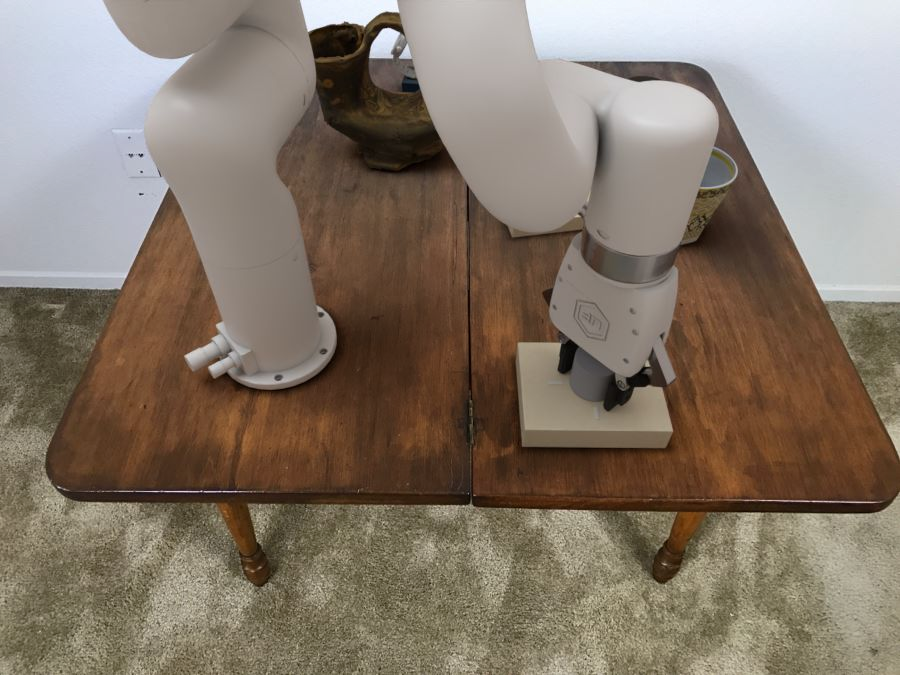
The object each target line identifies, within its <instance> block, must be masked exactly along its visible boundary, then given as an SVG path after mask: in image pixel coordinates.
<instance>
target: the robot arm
mask: <svg viewBox="0 0 900 675" xmlns="http://www.w3.org/2000/svg"><path fill="white" fill-rule="evenodd" d="M102 2H103V4H104V6H105V8H106V10H107V12H108V13H109V16H110V17H111V19H112V21H113V23H114V24H115V25H116V27H117V29H118V30H119V31H120V32H121V34H122V35H123V37H125V39H126V40H127V41H128V42H129V43H131V45H133V46H134V47H136V48H137V50H139V51H140V52H143V53H145V54H146V55H147V56H151V57H153V58H157V59H163V60H179V59H183V58H187V57H189V56H190V57H189V58H188V59H186V61H185V62H184V63H183V64H181V66H180V67H179V68H178V69H177V70H176V71H174V73H172V74H171V75H170V76H169V77H168V78H167V79H166V81H165V82H164V83H163V84H162V85H161V86H160V88H158V90H157V92H156V93H155V95H154V96H153V98H152V100H151V102H150V104H149V106H148V107H147V111H146V113H145V114H146V115H145V119H144V125H143V134H144V141H145V145H146V148H147V152H148V154H149V156H150V159H151V160H152V162H153V163H154V165H155V167H156V168H157V170H158V172H159V173H160V174H161V175H160V176H162V178H163V179H164V181H165V183H166V184H167V186H168V187H169V189H170V191H171V193H172V194H173V195H174V197H175V199H176V201H177V204H178V205H179V207H180V210H181V211H182V215H183V216H184V218H185V221H186V223H187V226H188V228H189V229H188V230H189V231H190V234H191V237H192V240H193V242H194V245H195V248H196V250H197V252H198V255H199V258H200V261H201V264H202V266H203V270H204V272H205V275H206V278H207V281H208V283H209V286H210V289H211V292H212V294H213V297H214V300H215V302H216V306H217V310H218V311H219V315H220V318H221V321H220V322H218V323H216V324H215V327H216V330H217V333H218V334H217V335H215V336H213V337H211V339H210V341H211V342H210V343H208V344H205V345H204V346H202V347H197V348H196V349H194V350H192V351H190V352H189V353H186V354H184V355H183V358H184V360H185V362H186V364H187V366H188V367H189V368H190V370H191V371H192V372H193V373H195V372H197V371H198V370H200V369H202V368H204V367H206V366H207V365H209V364H210V363H211V362H213V361H215V360H217V359H218V358H219V360H218V361H216V362H214V363H213V364H211V365H209V366H207V369H208V372H209V373H210V375H211V376H212V378H213V379H217V378H219V377H220V376H222V375H224V374H226V373H227V374H228V375H229V377H230V378H232V379H233V380H234V381H236V382H237V383H239V384H240V385H244V386H245V387H248V388H252V389H257V390H268V391H269V390H270V391H273V390H282V389H286V388H291V387H295V386H298V385H300V384H302V383H305V382H307V381H308V380H310V379H312V378H314V377H316V375H318V374H319V373H320V372H321V371H322V370H323V369H325V367H326V366H327V365H328V364H329V363H330V361H331V359H332V358H333V356H334V354H335V351H336V348H337V344H338V335H337V329H336V324H335V322H334V320H333V318H332V317H331V316H330V314H329V313H328V312H327V311H325V310H324V309H323V307H321V306H319V305H317V301H316V296H315V290H314V287H313V286H314V285H313V282H312V277H311V271H310V266H309V261H308V256H307V250H306V247H305V246H306V245H305V240H304V235H303V230H302V226H301V222H300V218H299V213H298V209H297V205H296V202H295V199H294V196H293V195H292V192H291V191H290V189H289V188H288V187H287V185H285V183H284V182H283V181H282V180H281V178H280V176H279V174H278V171H277V159H278V156H279V153H280V151H281V149H282V148H283V146H284V145H285V143H286V142H287V141H288V139H289V137H290V135H291V134H292V132H293V131H294V130H295V128H296V126H297V125H298V124H299V122H301V120H302V118H303V117H304V115H305V113H306V112H307V111H308V109H309V107H310V105H311V103H312V101H313V99H314V96H315V91H316V88H315V87H316V69H315V61H314V56H313V51H312V47H311V43H310V39H309V34H308V32H309V31H308V28H307V23H306V19H305V15H304V11H303V10H304V9H303V6H302V1H301V0H102ZM396 4H397V8H398V13H400V18H401V22H402V26H403V30H404V33H405V37H406V40H407V47H408V49H409V53H410V57H411V61H412V64H413V65H412V66H413V67H414V69H415V72H416V76H417V79H418V83H419V86H420V89H421V92H422V95H423V98H424V101H425V104H426V107H427V109H428V112H429V115H430V117H431V119H432V121H433V124H434V126H435V128H436V130H437V132H438V134H439V136H440V138H441V140H442V142H443V144H444V145H445V147H444V148H445V149H446V151H447V152H448V155H449V156H450V158H451V159H452V161H453V163H454V165H455V166H456V168H457V170H458V171H459V173H460V175H461V176H462V178H463V180H464V181H465V183H466V185H467V186H468V188H469V189H470V190H471V192H472V193H473V195H474V196H475V198H476V199H477V200H478V203H480V204H481V205H482V206H483V207H484V209H485V210H486V211H487V212H488V213H489V214H490V215H491V216H493V217H494V218H495V219H496V220H498V221H499V222H501V223H502V224H504V225H506V226H507V227H508V226H509V227H511V228H514V229H517V230H519V231H524V232H530V233H542V232H547V231H552V230H554V229H557V228H559V227H561V226H563V225H564V224H566V223H568V222H569V221H571V220H572V219H573V218H574V217H575V216H576V215H577V214H578V215H579V216H581V217H582V219H583V221H584V225H583V229H581V231H580V232H578V233H576V235H574V237H573V238H572V240H571V242H570V244H569V246H568V248H567V249H566V252H565V254H564V257H563V259H562V261H561V264H560V267H559V269H558V272H557V275H556V278H555V282H554V284H552V285H551V286H549V287H548V288H546V289H545V290H543V291H542V293H541V294H542V297H543V299H544V300H545V303H546V305H547V307H548V308H549V311H548V313H549V314H548V315H549V319H550V322H551V323H552V324H553V325H554V327H555V328H557V329H558V333H557V334H556V338H557V340H558V341H559V343H561V348H560V353H559V357H560V359H559V364H558V369H557V371H558V372H560V373H561V374H565V373H566V372H568V371H569V370H571V369H572V366H573V362H574V357H575V353H576V350H577V349H578V347H581V348H583V349H584V350H585V351H586V352H588V353H589V354H590V355H592V356H593V357H594V358H596V359H597V360H598V361H600V362H601V363H602V364H604V365H605V366H606V367H608V368H609V369H610V370H612V371H613V372H615V377H616V378H615V379H614V380H613V381H612V382H610V384H609V386H608V390H607V393H606V397H605V400H604V403H603V406H604V409H605V410H606V411H608V412H609V411H610V410H611V409H613V408H614V407H615V406H616V405H618V404H619V405H620V406H623V405H624V404H626V403H627V402H628V401H629V400H630V398H631V396H632V393H633V391H634V388H635V387H646V386H648V385H649V386H652V387H662V389H665V388H668V387H669V386H670V385H671V384H672V383H674V382H675V381H676V380H677V375H676V373H675V369H674V368H673V365H672V363H671V362H672V361H671V360H670V357H669V355H668V352H667V349H666V346H665V345H666V343H667V340H668V336H669V333H670V330H671V328H672V327H671V326H672V323H673V319H674V313H675V308H676V304H677V296H678V289H679V288H678V287H679V269H678V268H677V267H676V266H675V262H676V259H677V256H678V253H679V250H680V247H681V246H682V245H681V242H682V239H683V235H684V232H685V229H686V227H687V224H688V220H689V217H690V214H691V211H692V208H693V206H694V203H695V200H696V197H697V194H698V191H699V188H700V185H701V182H702V179H703V176H704V173H705V170H706V167H707V164H708V161H709V158H710V155H711V152H712V150H713V147H715V144H716V140H717V137H718V133H719V127H720V121H719V120H720V119H719V113H718V110H717V108H716V106H715V104H714V103H713V101H712V100H711V99H710V98H709V97H707V96H706V94H704V93H703V92H702V91H699V90H698V89H697V88H694V87H692V86H689V85H686V84H683V83H679V82H675V81H670V80H663V81H644V82H635V81H632V80H628V79H629V78H623V77H620V76H618V75H614V74H611V73H607V72H604V71H601V70H599V69H595V68H593V67H590V66H587V65H585V64H584V65H583V64H580V63H577V62H574V61H573V62H572V61H570V60H564V59H563V60H559V59H558V58H557V59H556V58H548V59H547V58H546V59H539V58H538V54H537V50H536V47H535V44H534V38H533V35H532V31H531V25H530V21H529V16H528V10H527V1H526V0H396ZM590 190H591V192H590ZM589 193H590V197H589V202H588V201H586V200H587V198H588V196H589ZM647 359H648V362H649V365H650V367H645V363H646V361H647Z"/></svg>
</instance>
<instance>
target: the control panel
mask: <svg viewBox="0 0 900 675" xmlns="http://www.w3.org/2000/svg"><path fill="white" fill-rule="evenodd" d="M516 346H517V347H516V353H515V371H516V372H515V373H516V383H517V384H516V385H517V398H518V399H517V400H518V409H519V424H520V437H521V438H520V439H521V447H522V448H599V449H600V448H601V449H602V448H604V449H605V448H607V449H610V448H611V449H666V448H667V446H668V444H669V442H670V440H671V438H672V436H673V433H674V429H673V425H672V421H671V417H670V413H669V409H668V404H667V401H666V396H665V394H664V390H663V389H664V388H662V387H652V386H649V385H648V386H646V387H635V388H634V391H633V393H632V396H631V398H630V400H629V401H628V402H627V403H626V404H624V405H623V406H620V405H619V404H618V405H616V406H615V407H614V408H613V409H611V410H610V411H609V412H608V411H606V410H605V409H604V406H603V403H604V400H605V399H604V400H602V401H588V400H585V399H582V398H580V397H579V396H577V395H576V394H575V393H574V392H573V390H572V389H571V387H570V382H569V380H570V375H571V370H572V369H571V370H569V371H568V372H566V373H565V374H561V373H560V372H558V371H557V369H558V364H559V359H560V357H559V353H560V348H561V342H531V341H530V342H528V341H527V342H523V341H522V342H520V341H519V342H517V345H516ZM645 367H650V365H649V362H648V359H647V361H646V363H645Z"/></svg>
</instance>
